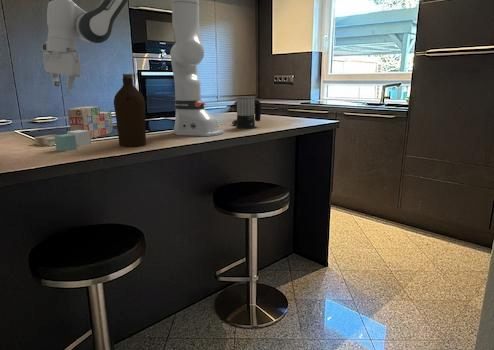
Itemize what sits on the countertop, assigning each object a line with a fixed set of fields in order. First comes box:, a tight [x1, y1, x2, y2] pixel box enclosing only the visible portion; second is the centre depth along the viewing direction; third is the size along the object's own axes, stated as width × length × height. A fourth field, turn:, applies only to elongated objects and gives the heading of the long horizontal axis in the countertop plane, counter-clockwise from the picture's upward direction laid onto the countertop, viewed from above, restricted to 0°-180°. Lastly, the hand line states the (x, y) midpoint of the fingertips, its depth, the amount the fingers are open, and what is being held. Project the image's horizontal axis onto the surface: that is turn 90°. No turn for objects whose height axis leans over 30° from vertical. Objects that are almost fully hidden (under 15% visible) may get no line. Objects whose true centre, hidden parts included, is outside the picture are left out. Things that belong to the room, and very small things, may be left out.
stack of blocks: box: [67, 105, 114, 139], centre depth 153 cm, size 21×6×12 cm, turn 170°
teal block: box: [54, 133, 78, 152], centre depth 125 cm, size 4×4×5 cm
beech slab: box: [34, 133, 58, 147], centre depth 137 cm, size 8×8×3 cm
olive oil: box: [113, 73, 147, 148], centre depth 131 cm, size 11×11×25 cm
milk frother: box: [231, 96, 262, 130], centre depth 182 cm, size 14×16×15 cm
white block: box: [66, 130, 92, 147], centre depth 134 cm, size 6×6×5 cm
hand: (62, 87), depth 133 cm, fingers open, 8 cm apart
